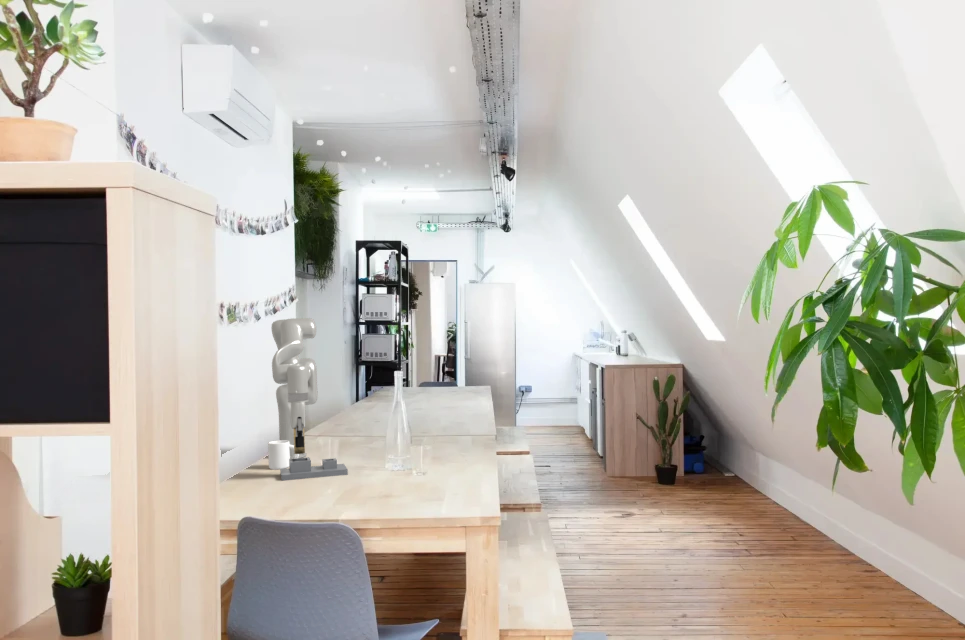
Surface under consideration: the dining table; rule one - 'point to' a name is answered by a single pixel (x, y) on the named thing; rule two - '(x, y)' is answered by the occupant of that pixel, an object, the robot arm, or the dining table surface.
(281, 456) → the mug
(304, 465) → the fitting block
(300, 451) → the pipe stub
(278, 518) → the dining table surface
